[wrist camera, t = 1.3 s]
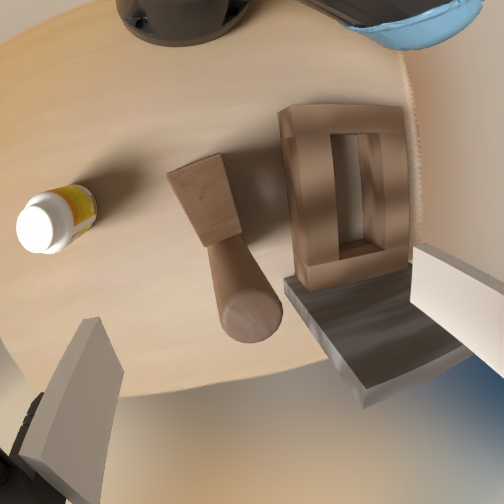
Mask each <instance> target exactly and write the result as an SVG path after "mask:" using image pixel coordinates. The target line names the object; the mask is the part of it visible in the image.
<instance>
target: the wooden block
mask: <svg viewBox="0 0 504 504" xmlns="http://www.w3.org/2000/svg"><path fill="white" fill-rule="evenodd" d="M166 177H167V179H168V181H169V183H170V185H171V187H172V189H173V191H174V193H175V194H176V196H177V198H178V200H179V202H180V204H181V206H182V208H183V209H184V211H185V213H186V215H187V217H188V219H189V221H190V222H191V224H192V226H193V228H194V230H195V232H196V233H197V235H198V237H199V239H200V241H201V242H202V244H203V246H204V247H207V249H208V255H209V261H210V267H211V273H212V279H213V284H214V290H215V296H216V301H217V307H218V312H219V317H220V322H221V325H222V328H223V330H224V331H225V332H226V334H227V335H228V336H230V337H231V338H233V339H234V340H236V341H239V342H242V343H256V342H260V341H263V340H265V339H267V338H269V337H270V336H271V335H272V334H273V333H274V332H275V331H277V329H278V327H279V325H280V324H281V321H282V316H283V308H282V303H281V301H280V300H279V298H278V296H277V294H276V293H275V291H274V290H273V288H272V286H271V285H270V283H269V282H268V280H267V278H266V277H265V275H264V274H263V272H262V270H261V269H260V267H259V265H258V264H257V262H256V261H255V259H254V257H253V256H252V254H251V253H250V251H249V249H248V248H247V246H246V245H245V243H244V241H243V238H242V236H241V233H242V226H241V223H240V219H239V215H238V211H237V208H236V204H235V200H234V197H233V193H232V189H231V186H230V182H229V178H228V175H227V171H226V167H225V163H224V160H223V156H222V154H221V153H217V154H214V155H211V156H208V157H205V158H203V159H200V160H198V161H195V162H193V163H190V164H188V165H185V166H183V167H180V168H178V169H176V170H174V171H171V172H169V173H167V174H166Z"/></svg>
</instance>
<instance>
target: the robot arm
mask: <svg viewBox="0 0 504 504" xmlns="http://www.w3.org/2000/svg"><path fill="white" fill-rule="evenodd" d="M295 1H298V2H300V3H302V4H304V5H307V6H309V7H311V8H313V9H315V10H317V11H319V12H321V13H323V14H325V15H327V16H329V17H331V18H333V19H335V20H337V21H338V22H339V23H340V25H342V26H343V27H345V28H347V29H349V30H352V31H356V32H358V33H360V34H362V35H364V36H366V37H368V38H369V39H371V40H373V41H375V42H377V43H378V44H380V45H382V46H384V47H386V48H389V49H393V50H398V51H407V50H411V49H412V50H420V49H424V48H428V47H431V46H434V45H437V44H439V43H441V42H444V41H446V40H447V39H449V38H451V37H453V36H454V35H456V34H457V33H459V32H460V31H462V30H463V29H464V28H465V27H467V26H468V25H469V24H470V23H471V22H472V21H473V20H474V19H475V18H476V16H477V15H478V14H479V12H480V11H481V9H482V4H481V2H482V1H484V0H295ZM250 2H251V0H116V5H117V10H118V13H119V15H120V17H121V19H122V21H123V23H124V25H125V26H126V28H127V29H128V30H129V31H130V32H131V33H132V34H134V35H135V36H136V37H138V38H140V39H141V40H143V41H146V42H148V43H151V44H155V45H159V46H166V47H186V46H193V45H198V44H202V43H205V42H208V41H211V40H213V39H216V38H218V37H220V36H222V35H224V34H225V33H227V32H228V31H230V30H231V29H232V28H233V27H235V26H236V25H237V24H238V23H239V22H240V21H241V19H242V18H243V17H244V15H245V13H246V11H247V9H248V7H249V4H250ZM410 302H411V303H412V304H414V305H415V306H416V307H418V308H419V309H420V310H421V311H423V312H424V313H425V314H427V315H428V316H429V317H430V318H432V319H433V320H434V321H436V322H437V323H438V324H439V325H441V326H442V327H443V328H444V329H446V330H447V331H448V332H449V333H451V334H452V335H453V336H454V337H455V338H457V339H458V340H459V341H460V342H462V343H463V344H464V345H465V346H466V347H468V348H469V349H470V350H471V351H472V352H474V353H475V354H476V355H477V356H478V357H480V358H481V359H482V360H483V361H484V362H486V363H487V364H488V365H489V366H490V367H491V368H492V369H494V370H495V371H496V372H497V373H498V374H499V375H500V376H502V377H503V378H504V283H503V282H502V281H500V280H498V279H496V278H494V277H492V276H490V275H489V274H487V273H485V272H483V271H481V270H479V269H477V268H475V267H473V266H471V265H469V264H468V263H466V262H464V261H462V260H460V259H458V258H456V257H454V256H452V255H449V254H447V253H445V252H443V251H441V250H439V249H437V248H435V247H433V246H431V245H429V244H426V243H424V244H421V245H417V246H413V268H412V283H411V296H410ZM123 375H124V370H123V368H122V366H121V364H120V362H119V360H118V358H117V356H116V354H115V351H114V349H113V347H112V345H111V343H110V340H109V338H108V336H107V334H106V331H105V329H104V327H103V324H102V322H101V320H100V317H95V318H90V319H84V320H82V322H81V324H80V326H79V327H78V329H77V331H76V333H75V335H74V336H73V338H72V340H71V342H70V344H69V345H68V347H67V349H66V351H65V353H64V355H63V357H62V359H61V360H60V362H59V364H58V366H57V368H56V370H55V372H54V374H53V376H52V378H51V380H50V382H49V384H48V386H47V388H46V391H45V392H41V393H40V394H39V395H38V397H37V398H36V399H35V400H34V401H33V402H32V403H31V406H30V408H29V410H28V412H27V416H25V418H24V421H23V426H21V427H20V430H19V432H18V434H17V437H16V439H15V442H14V444H13V447H12V449H11V452H10V454H9V457H8V455H7V454H6V453H5V452H4V451H3V450H2V449H1V448H0V504H65V502H66V499H67V500H69V501H70V502H71V503H72V504H100V497H101V489H102V482H103V475H104V469H105V462H106V456H107V451H108V445H109V440H110V434H111V429H112V424H113V419H114V414H115V409H116V405H117V401H118V396H119V392H120V387H121V383H122V379H123Z"/></svg>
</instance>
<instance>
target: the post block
mask: <svg viewBox="0 0 504 504" xmlns="http://www.w3.org/2000/svg"><path fill="white" fill-rule="evenodd" d="M278 120H279V127H280V135H281V143H282V151H283V159H284V167H285V176H286V184H287V193H288V203H289V212H290V222H291V233H292V243H293V254H294V266H295V276H294V277H289V278H284V279H283V280H284V290H285V295H286V296H287V298H288V299H289V300H290V302H291V303H292V305H293V306H294V308H295V309H296V311H297V312H298V314H299V315H300V317H301V318H302V320H303V321H304V322H305V324H306V325H307V327H308V328H309V330H310V331H311V333H312V334H313V336H314V337H315V339H316V340H317V342H318V343H319V344H320V346H321V347H322V349H323V350H324V352H325V353H326V355H327V356H328V358H329V359H330V361H331V362H332V364H333V365H334V366H335V368H336V369H337V371H338V372H339V374H340V375H341V377H342V378H343V380H344V381H345V383H346V384H347V386H348V387H349V389H350V390H351V392H352V393H353V395H354V396H355V397H356V399H357V400H358V402H359V403H360V405H361V406H362V408H363V409H364V408H366V407H369V406H371V405H374V404H376V403H379V402H381V401H384V400H386V399H388V398H390V397H393V396H395V395H397V394H400V393H402V392H404V391H406V390H408V389H411V388H413V387H415V386H417V385H419V384H421V383H423V382H425V381H427V380H429V379H431V378H433V377H435V376H437V375H439V374H441V373H442V372H444V371H446V370H448V369H450V368H451V367H453V366H455V365H457V364H459V363H460V362H462V361H464V360H465V359H467V358H469V357H470V356H472V355H474V354H475V353H474V352H472V351H471V350H470V349H469V348H468V347H466V346H465V345H464V344H463V343H462V342H460V341H459V340H458V339H457V338H455V337H454V336H453V335H452V334H451V333H449V332H448V331H447V330H446V329H444V328H443V327H442V326H441V325H439V324H438V323H437V322H436V321H434V320H433V319H432V318H430V317H429V316H428V315H427V314H425V313H424V312H423V311H421V310H420V309H419V308H418V307H416V306H415V305H414V304H412V303H411V302H410V296H411V283H412V268H413V264H411V263H409V262H408V245H409V188H408V167H407V152H406V141H405V131H404V122H403V114H402V107H397V106H383V105H360V104H307V105H291V106H289V107H287V108H285V109H284V110H282V111H280V112H278ZM335 135H357V140H358V150H359V161H360V173H361V187H362V204H363V231H364V239H362V240H357V241H352V242H346V243H341V244H339V241H338V221H337V205H336V192H335V180H334V169H333V158H332V149H331V140H330V136H335Z"/></svg>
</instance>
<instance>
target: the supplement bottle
mask: <svg viewBox="0 0 504 504" xmlns="http://www.w3.org/2000/svg"><path fill="white" fill-rule="evenodd" d="M96 215H97V205H96V201H95V198H94V196H93V195H92V193H91V192H90V191H89V190H88V189H87V188H85V187H83V186H80V185H69V186H65V187H61V188H57V189H53V190H49V191H46V192H42V193H39V194H37V195H35V196H34V197H33V198H31V200H30V201H29V202H28V203H27V205H26V207H25V209H24V210H23V211H22V212H21V213H20V215H19V217H18V220H17V235H18V238H19V240H20V242H21V244H22V245H23V246H24V247H25V248H26V249H27V250H29V251H31V252H33V253H40V252H42V253H45V254H53V253H57V252H59V251H61V250H62V249H64V248H65V247H66V246H68V245H69V244H70V243H72V242H73V241H74V240H76V239H77V238H78V237H80V236H81V235H82V234H84V233H85V232H86V231H88V230H89V229H90V228H91V226H92V225H93V223H94V221H95V219H96Z"/></svg>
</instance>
